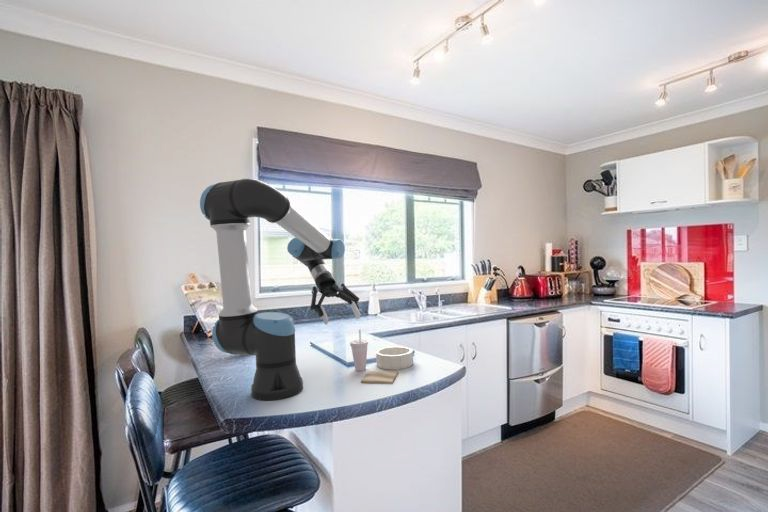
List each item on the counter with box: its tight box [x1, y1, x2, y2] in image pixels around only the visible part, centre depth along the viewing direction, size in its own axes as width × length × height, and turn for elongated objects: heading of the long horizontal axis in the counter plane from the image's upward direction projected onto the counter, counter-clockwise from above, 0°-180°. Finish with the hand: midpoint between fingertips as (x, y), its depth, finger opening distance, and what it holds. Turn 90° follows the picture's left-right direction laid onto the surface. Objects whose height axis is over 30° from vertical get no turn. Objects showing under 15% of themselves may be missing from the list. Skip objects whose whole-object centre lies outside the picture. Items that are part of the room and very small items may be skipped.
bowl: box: [375, 345, 414, 371], centre depth 137 cm, size 13×13×5 cm
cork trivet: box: [360, 370, 399, 385], centre depth 123 cm, size 10×10×1 cm
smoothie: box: [349, 328, 369, 372], centre depth 133 cm, size 6×6×14 cm
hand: (343, 319), depth 142 cm, fingers open, 13 cm apart
